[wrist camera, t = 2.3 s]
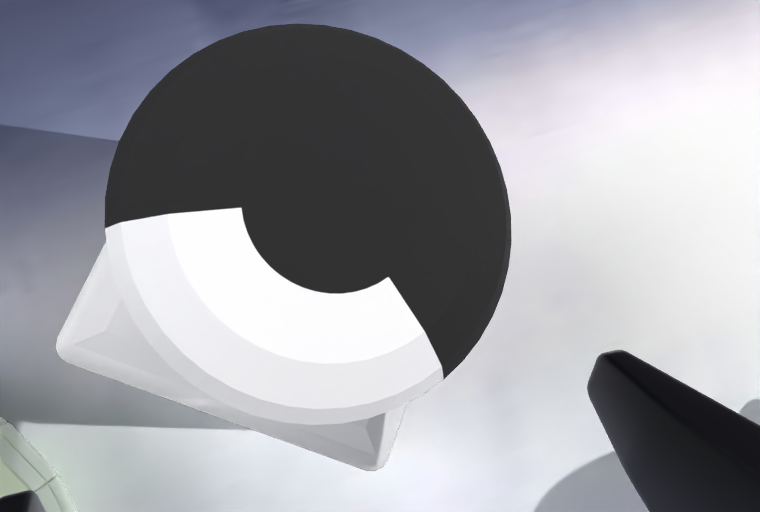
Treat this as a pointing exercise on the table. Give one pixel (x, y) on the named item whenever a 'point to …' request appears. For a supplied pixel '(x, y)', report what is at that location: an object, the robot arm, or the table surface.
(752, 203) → the table surface
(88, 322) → the medicine bottle
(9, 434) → the bowl
